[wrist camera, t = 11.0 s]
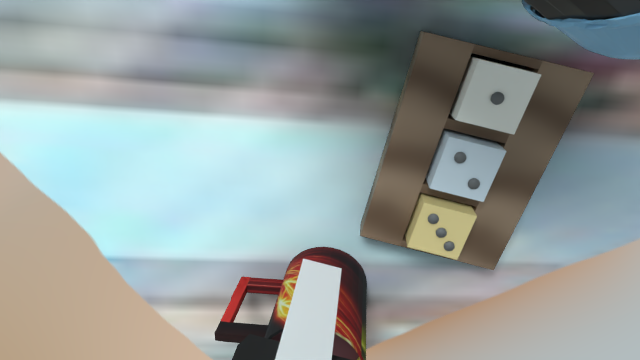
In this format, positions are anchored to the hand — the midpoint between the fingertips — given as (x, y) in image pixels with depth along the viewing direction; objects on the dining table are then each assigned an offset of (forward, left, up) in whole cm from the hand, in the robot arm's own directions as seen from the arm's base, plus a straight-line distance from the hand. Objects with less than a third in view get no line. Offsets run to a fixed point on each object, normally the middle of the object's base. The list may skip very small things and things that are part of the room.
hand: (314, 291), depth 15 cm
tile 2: (-6, +11, -24) cm, 27 cm away
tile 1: (+6, +11, -24) cm, 27 cm away
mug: (+20, 0, -25) cm, 32 cm away
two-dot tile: (0, +11, -24) cm, 26 cm away
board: (0, +11, -24) cm, 27 cm away
